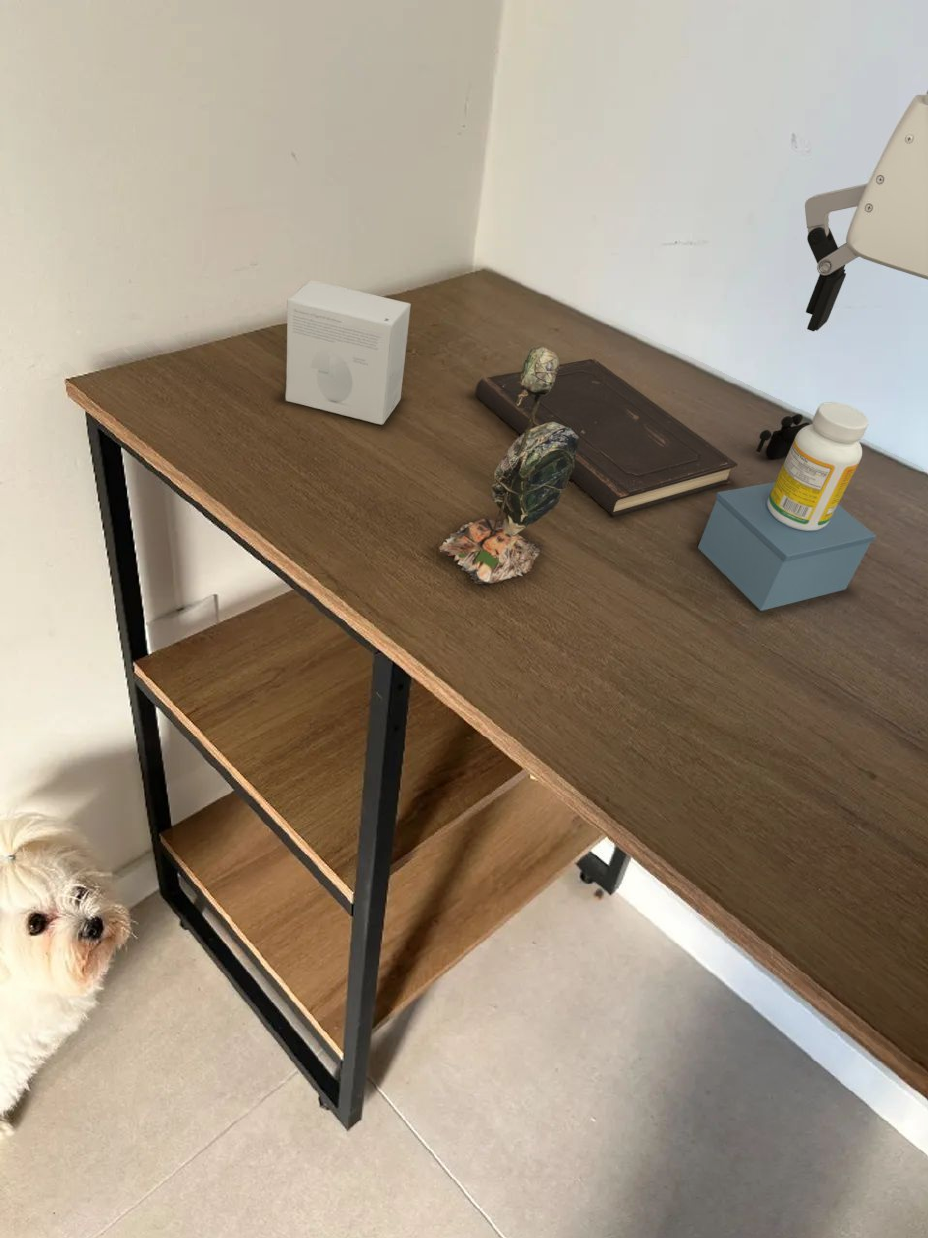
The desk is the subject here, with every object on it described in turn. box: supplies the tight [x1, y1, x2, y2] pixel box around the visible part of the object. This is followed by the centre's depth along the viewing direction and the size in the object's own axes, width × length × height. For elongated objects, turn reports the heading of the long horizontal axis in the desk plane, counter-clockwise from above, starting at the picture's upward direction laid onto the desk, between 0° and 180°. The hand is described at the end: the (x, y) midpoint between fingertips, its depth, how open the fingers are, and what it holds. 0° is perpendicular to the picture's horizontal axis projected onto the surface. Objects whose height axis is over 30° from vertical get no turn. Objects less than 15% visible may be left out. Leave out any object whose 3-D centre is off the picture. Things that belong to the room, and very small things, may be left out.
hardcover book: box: [475, 358, 739, 517], centre depth 95 cm, size 16×23×2 cm
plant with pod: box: [438, 346, 585, 586], centre depth 73 cm, size 8×11×20 cm
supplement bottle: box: [767, 401, 869, 531], centre depth 76 cm, size 5×5×10 cm
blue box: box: [697, 481, 877, 612], centre depth 81 cm, size 9×10×6 cm
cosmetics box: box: [284, 279, 412, 426], centre depth 91 cm, size 10×6×10 cm, turn 76°
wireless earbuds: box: [756, 413, 811, 460], centre depth 97 cm, size 7×2×5 cm, turn 119°
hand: (878, 347), depth 69 cm, fingers open, 9 cm apart
